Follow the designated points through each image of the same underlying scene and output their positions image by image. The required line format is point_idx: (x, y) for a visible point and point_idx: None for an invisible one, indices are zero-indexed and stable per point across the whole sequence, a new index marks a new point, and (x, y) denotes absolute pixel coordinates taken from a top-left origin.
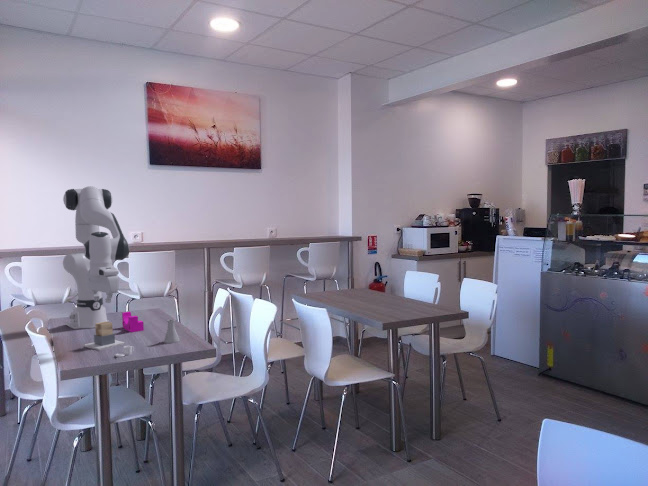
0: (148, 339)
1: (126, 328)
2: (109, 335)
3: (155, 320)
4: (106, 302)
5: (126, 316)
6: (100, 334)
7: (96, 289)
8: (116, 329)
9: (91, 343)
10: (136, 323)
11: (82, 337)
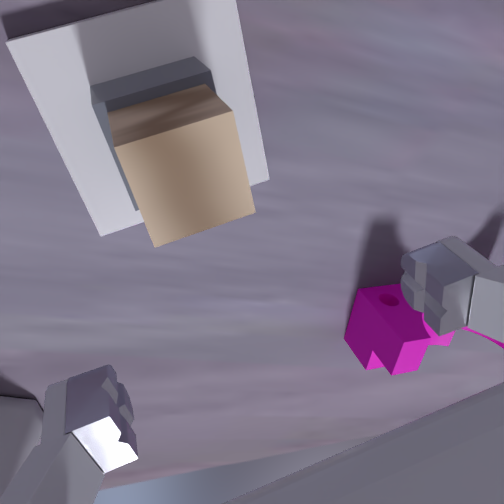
0: (147, 342)
1: None
2: (120, 172)
3: (456, 384)
4: (79, 375)
5: None
6: (130, 109)
7: (443, 450)
8: None
9: (225, 41)
10: (372, 341)
11: (474, 52)
